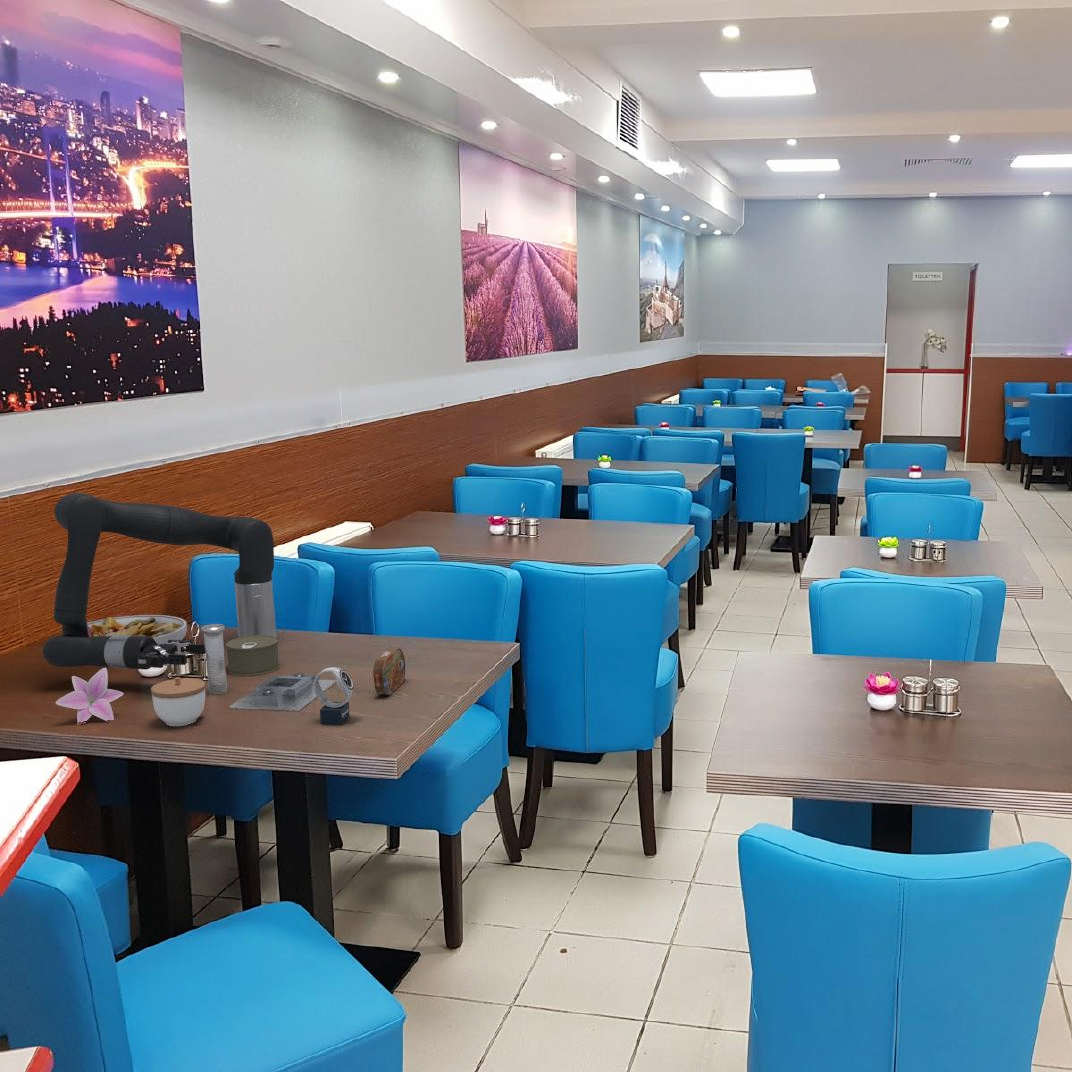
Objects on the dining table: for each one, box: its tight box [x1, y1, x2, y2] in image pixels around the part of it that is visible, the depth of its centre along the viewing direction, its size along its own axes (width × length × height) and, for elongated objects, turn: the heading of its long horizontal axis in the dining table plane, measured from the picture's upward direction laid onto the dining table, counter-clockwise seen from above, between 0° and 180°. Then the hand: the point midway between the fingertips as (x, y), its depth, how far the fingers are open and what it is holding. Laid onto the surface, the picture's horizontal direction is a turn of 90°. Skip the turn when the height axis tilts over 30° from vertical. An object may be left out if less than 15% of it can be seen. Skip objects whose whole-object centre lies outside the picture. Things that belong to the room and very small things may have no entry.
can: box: [225, 635, 280, 677], centre depth 278 cm, size 12×12×7 cm
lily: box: [55, 667, 124, 724], centre depth 245 cm, size 12×12×10 cm
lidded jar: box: [150, 676, 206, 727], centre depth 241 cm, size 11×11×9 cm
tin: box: [372, 647, 406, 696], centre depth 260 cm, size 15×3×8 cm, turn 168°
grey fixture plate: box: [228, 672, 337, 712], centre depth 258 cm, size 21×16×3 cm
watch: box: [313, 666, 355, 726], centre depth 239 cm, size 6×8×11 cm
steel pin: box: [200, 623, 228, 696], centre depth 260 cm, size 5×5×15 cm
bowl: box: [87, 614, 188, 645], centre depth 303 cm, size 30×30×8 cm
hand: (196, 654), depth 261 cm, fingers open, 8 cm apart
